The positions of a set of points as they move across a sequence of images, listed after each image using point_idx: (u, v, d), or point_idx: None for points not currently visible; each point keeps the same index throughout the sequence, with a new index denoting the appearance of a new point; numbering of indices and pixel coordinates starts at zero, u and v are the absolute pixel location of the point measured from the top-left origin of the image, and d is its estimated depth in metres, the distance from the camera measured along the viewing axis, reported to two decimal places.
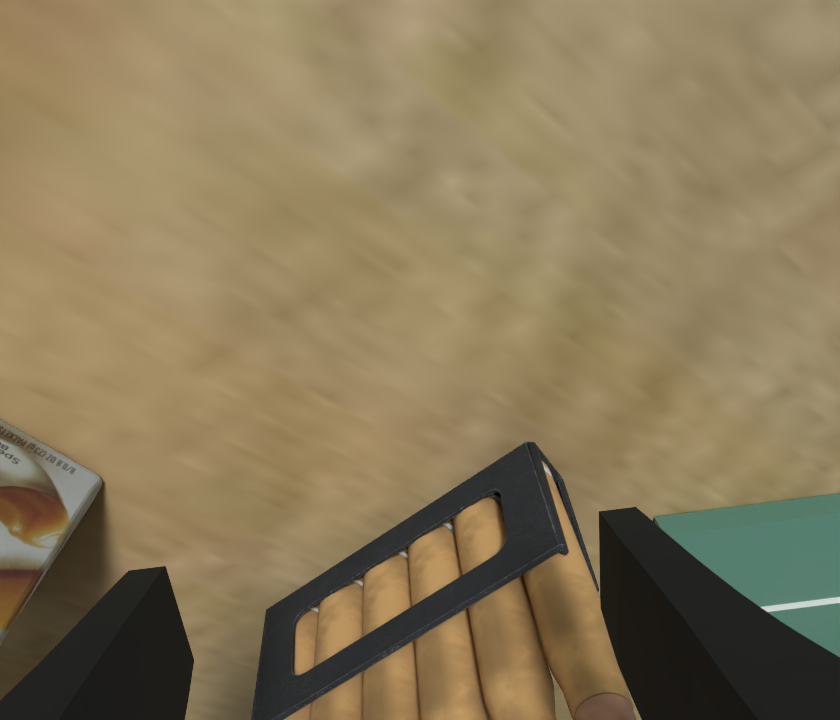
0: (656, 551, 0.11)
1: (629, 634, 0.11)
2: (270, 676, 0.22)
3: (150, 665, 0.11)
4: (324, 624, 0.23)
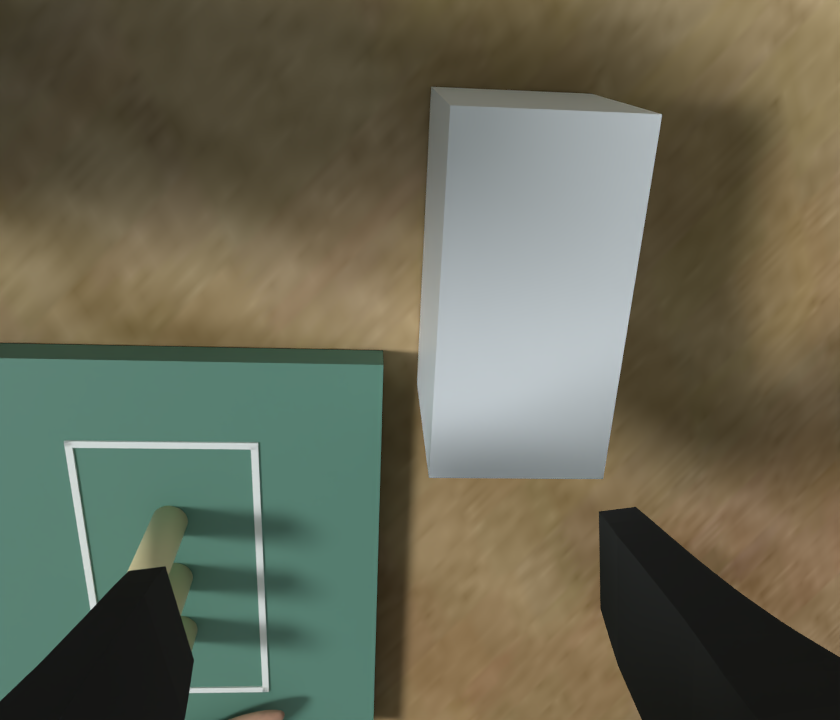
0: (656, 551, 0.11)
1: (628, 634, 0.11)
2: None
3: (150, 664, 0.11)
4: None
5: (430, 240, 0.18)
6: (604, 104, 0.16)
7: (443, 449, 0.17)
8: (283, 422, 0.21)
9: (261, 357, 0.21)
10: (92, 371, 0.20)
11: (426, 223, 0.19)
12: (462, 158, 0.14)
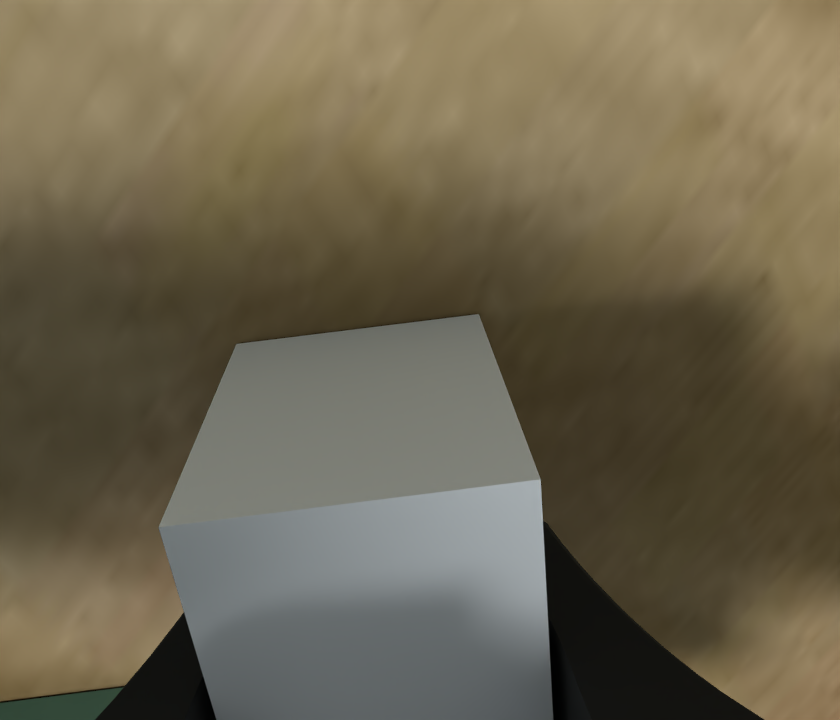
0: (547, 565, 0.11)
1: None
2: None
3: None
4: None
5: None
6: (464, 409, 0.10)
7: None
8: None
9: (85, 716, 0.15)
10: None
11: None
12: (207, 595, 0.08)
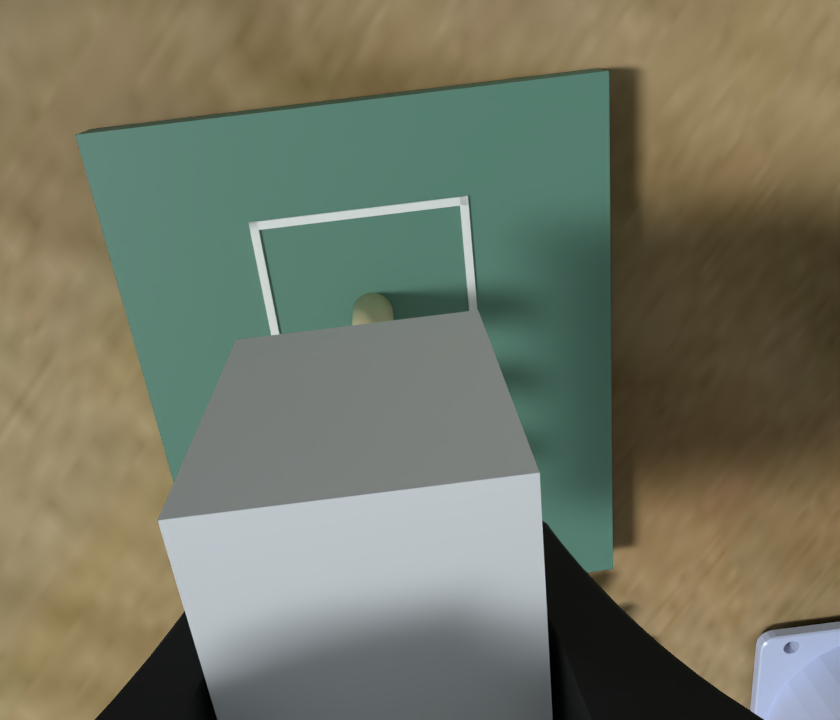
0: (547, 564, 0.11)
1: None
2: None
3: None
4: None
5: None
6: (463, 403, 0.10)
7: None
8: (495, 164, 0.18)
9: (462, 87, 0.17)
10: (274, 126, 0.17)
11: None
12: (206, 588, 0.08)
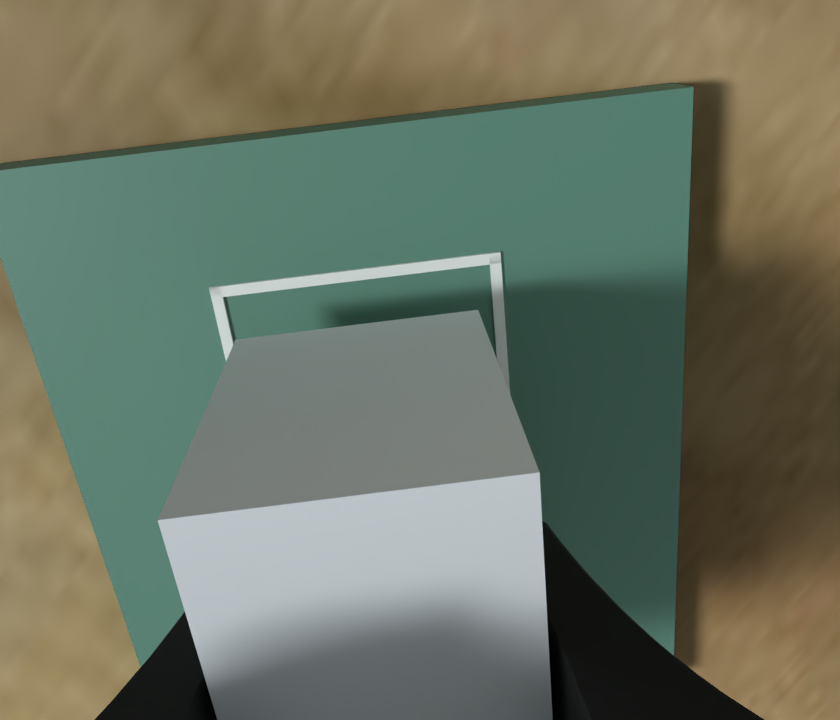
0: (547, 565, 0.11)
1: None
2: None
3: None
4: None
5: None
6: (463, 403, 0.10)
7: None
8: (537, 211, 0.13)
9: (494, 108, 0.13)
10: (241, 162, 0.13)
11: None
12: (206, 588, 0.08)
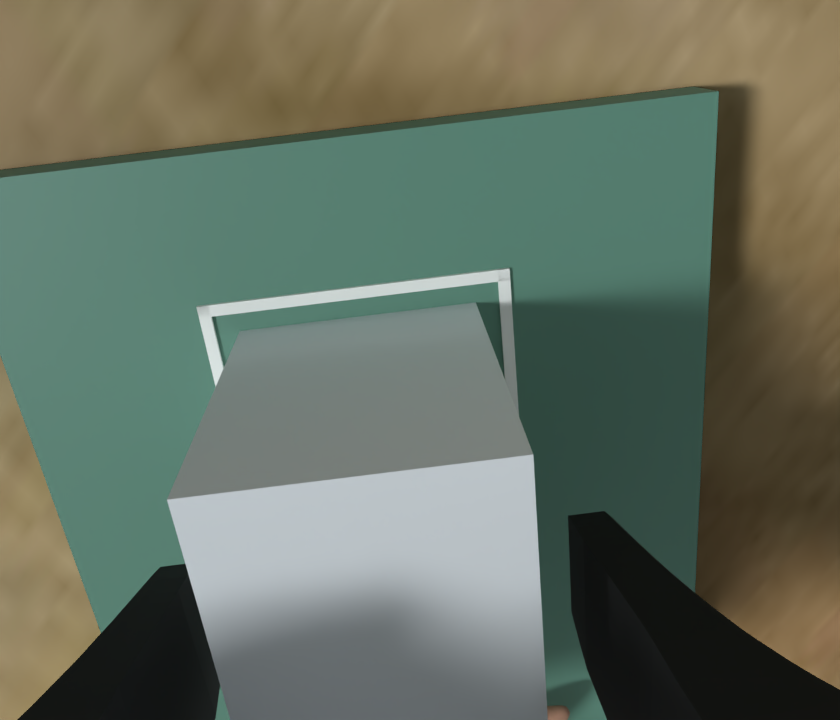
0: (620, 556, 0.11)
1: (595, 639, 0.11)
2: None
3: (184, 660, 0.11)
4: None
5: None
6: (460, 390, 0.10)
7: None
8: (549, 224, 0.12)
9: (503, 114, 0.12)
10: (230, 172, 0.12)
11: None
12: (213, 566, 0.09)
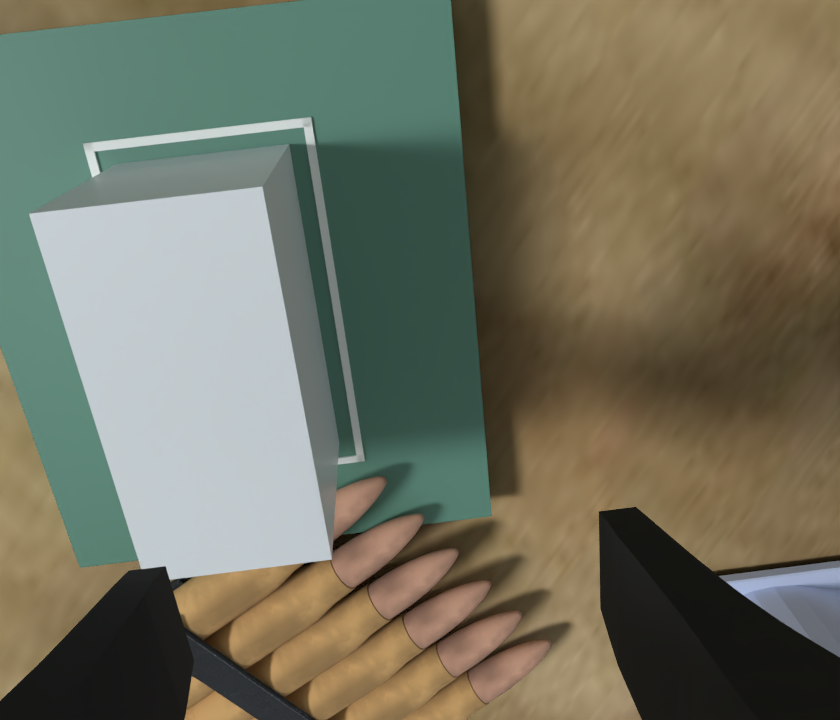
0: (656, 551, 0.11)
1: (628, 634, 0.11)
2: None
3: (151, 664, 0.11)
4: None
5: None
6: (242, 172, 0.15)
7: (149, 553, 0.16)
8: (337, 83, 0.17)
9: None
10: (102, 40, 0.17)
11: None
12: (62, 265, 0.13)
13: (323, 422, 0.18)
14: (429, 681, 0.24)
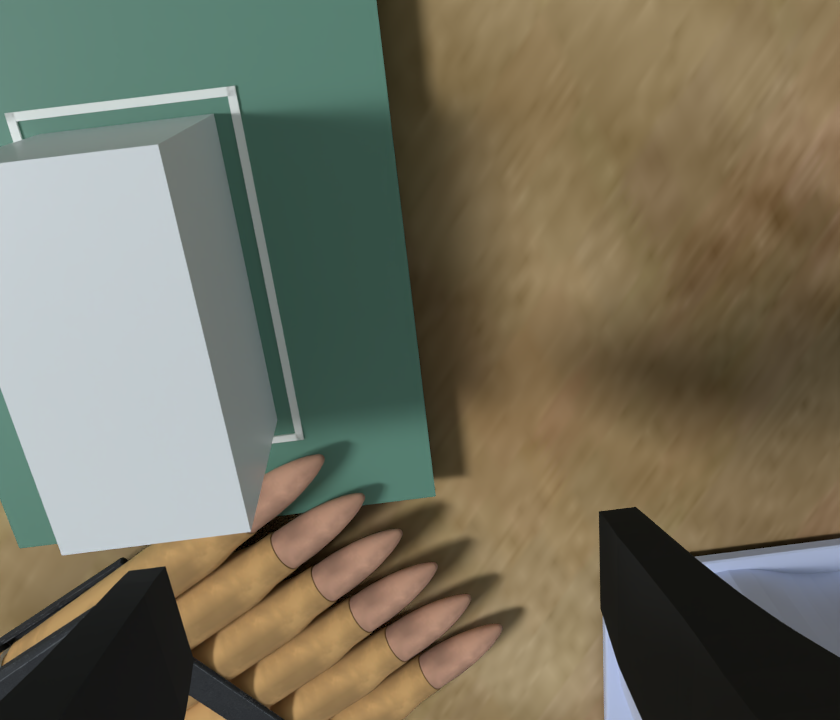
0: (656, 551, 0.11)
1: (629, 634, 0.11)
2: None
3: (150, 664, 0.11)
4: None
5: None
6: (149, 135, 0.14)
7: (64, 525, 0.16)
8: (260, 51, 0.17)
9: None
10: (20, 7, 0.16)
11: None
12: None
13: (249, 395, 0.18)
14: (377, 665, 0.24)
